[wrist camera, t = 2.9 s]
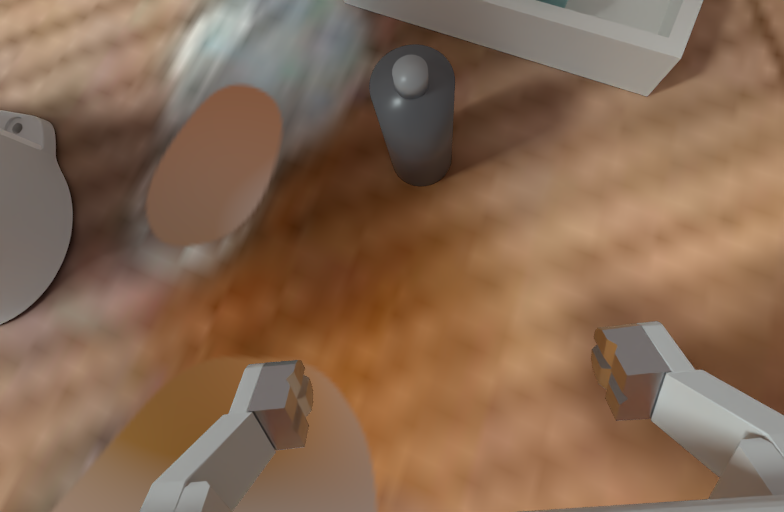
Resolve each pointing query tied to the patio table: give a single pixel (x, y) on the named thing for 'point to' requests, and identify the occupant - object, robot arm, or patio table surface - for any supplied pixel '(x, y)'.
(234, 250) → the patio table surface
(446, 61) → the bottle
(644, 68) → the walled box
